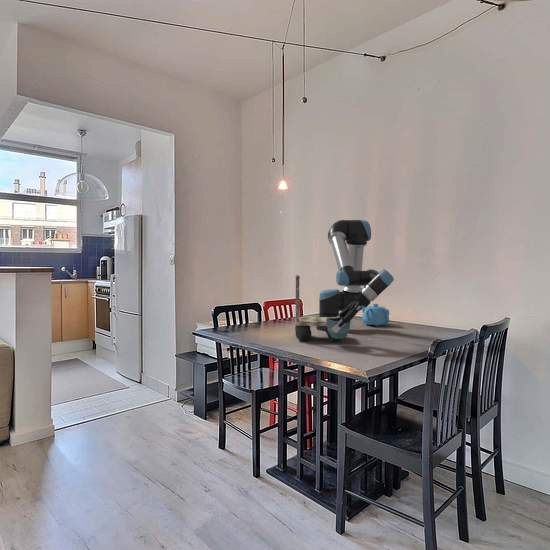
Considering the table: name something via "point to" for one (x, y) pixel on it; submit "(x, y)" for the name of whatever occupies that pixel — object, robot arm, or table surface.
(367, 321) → the decorative pot
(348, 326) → the flower pot
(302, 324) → the trolley
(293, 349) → the table surface
